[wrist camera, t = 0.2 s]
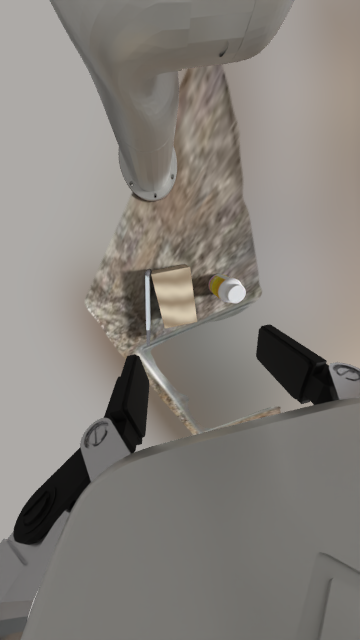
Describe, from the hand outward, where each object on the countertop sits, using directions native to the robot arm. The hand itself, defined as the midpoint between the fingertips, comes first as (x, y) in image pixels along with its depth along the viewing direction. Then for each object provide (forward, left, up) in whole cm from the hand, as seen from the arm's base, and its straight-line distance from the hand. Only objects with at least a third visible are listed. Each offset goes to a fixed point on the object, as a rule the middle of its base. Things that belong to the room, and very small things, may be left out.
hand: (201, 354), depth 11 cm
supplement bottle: (+5, +15, -37) cm, 40 cm away
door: (+8, -9, -35) cm, 37 cm away
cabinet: (+5, 0, -36) cm, 37 cm away
